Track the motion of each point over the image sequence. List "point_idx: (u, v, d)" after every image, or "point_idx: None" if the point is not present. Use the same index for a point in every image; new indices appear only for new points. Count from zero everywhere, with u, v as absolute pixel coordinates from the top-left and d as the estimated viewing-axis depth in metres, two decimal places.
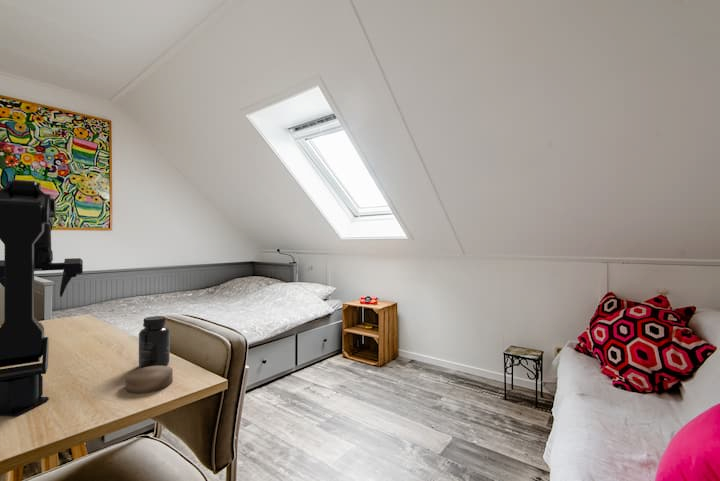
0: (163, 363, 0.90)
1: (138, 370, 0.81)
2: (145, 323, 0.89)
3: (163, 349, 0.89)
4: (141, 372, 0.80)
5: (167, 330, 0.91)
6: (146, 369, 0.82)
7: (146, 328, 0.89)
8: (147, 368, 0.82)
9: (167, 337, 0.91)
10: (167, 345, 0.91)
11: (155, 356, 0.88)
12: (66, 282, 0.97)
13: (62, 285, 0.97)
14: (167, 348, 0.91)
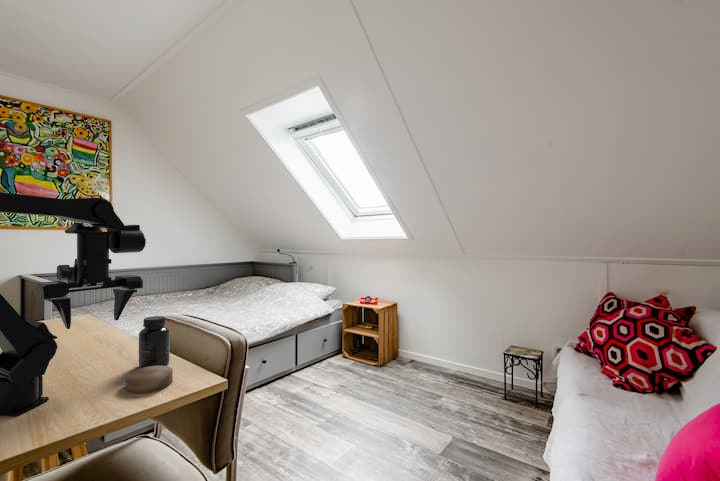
0: (163, 363, 0.90)
1: (138, 370, 0.81)
2: (145, 323, 0.89)
3: (163, 349, 0.89)
4: (141, 372, 0.80)
5: (167, 330, 0.91)
6: (146, 369, 0.82)
7: (146, 328, 0.89)
8: (147, 368, 0.82)
9: (167, 337, 0.91)
10: (167, 345, 0.91)
11: (155, 356, 0.88)
12: (127, 300, 0.84)
13: (122, 304, 0.83)
14: (167, 348, 0.91)
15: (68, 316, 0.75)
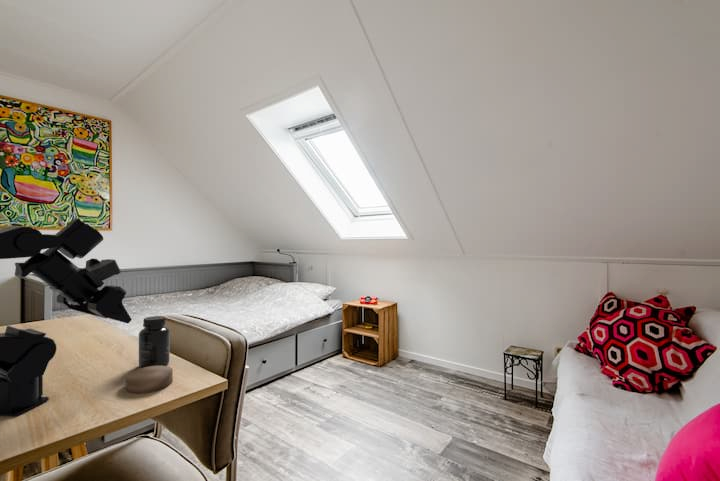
0: (163, 363, 0.90)
1: (138, 370, 0.81)
2: (145, 323, 0.89)
3: (163, 349, 0.89)
4: (141, 372, 0.80)
5: (167, 330, 0.91)
6: (146, 369, 0.82)
7: (146, 328, 0.89)
8: (147, 368, 0.82)
9: (167, 337, 0.91)
10: (167, 345, 0.91)
11: (155, 356, 0.88)
12: None
13: (110, 318, 0.78)
14: (167, 348, 0.91)
15: (92, 314, 0.83)
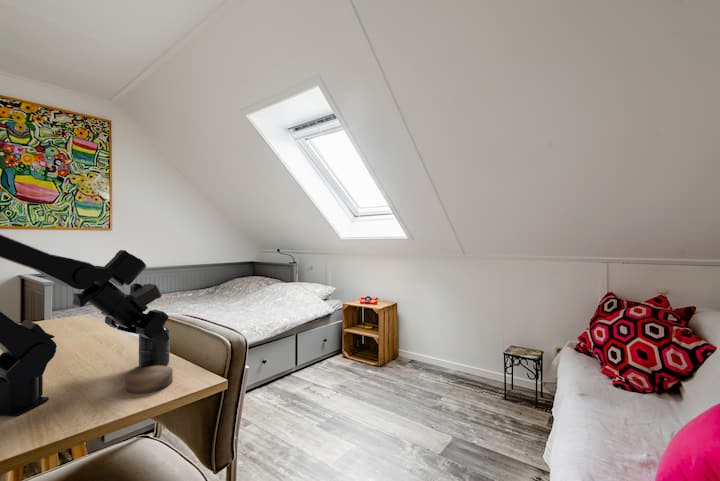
0: (163, 363, 0.90)
1: (138, 370, 0.81)
2: None
3: (163, 349, 0.89)
4: (141, 372, 0.80)
5: (167, 330, 0.91)
6: (146, 369, 0.82)
7: None
8: (147, 368, 0.82)
9: None
10: (167, 345, 0.91)
11: (155, 356, 0.88)
12: (150, 338, 0.85)
13: (152, 338, 0.86)
14: (167, 348, 0.91)
15: None
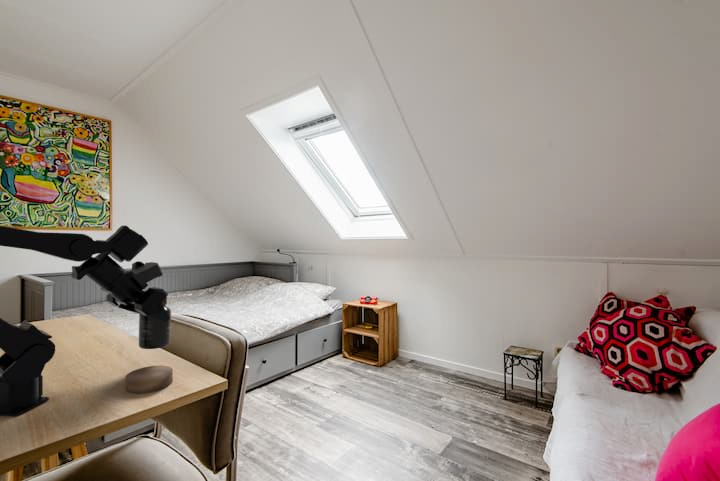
0: (163, 343, 0.87)
1: (138, 370, 0.81)
2: None
3: (163, 329, 0.87)
4: (141, 372, 0.80)
5: (168, 310, 0.89)
6: (146, 369, 0.82)
7: None
8: (147, 368, 0.82)
9: None
10: (168, 325, 0.89)
11: (155, 335, 0.86)
12: (149, 316, 0.83)
13: None
14: (167, 328, 0.89)
15: (139, 313, 0.90)
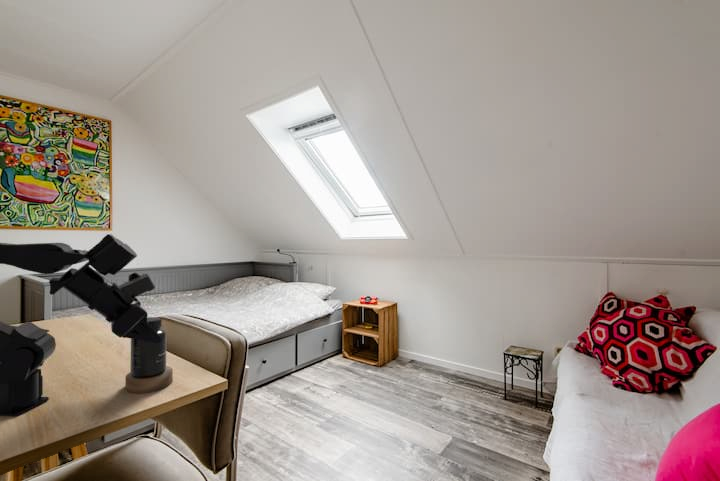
0: (153, 373, 0.77)
1: None
2: None
3: (152, 356, 0.77)
4: None
5: (160, 335, 0.79)
6: None
7: None
8: None
9: (159, 343, 0.78)
10: (159, 352, 0.78)
11: (143, 364, 0.76)
12: None
13: None
14: (159, 356, 0.78)
15: None
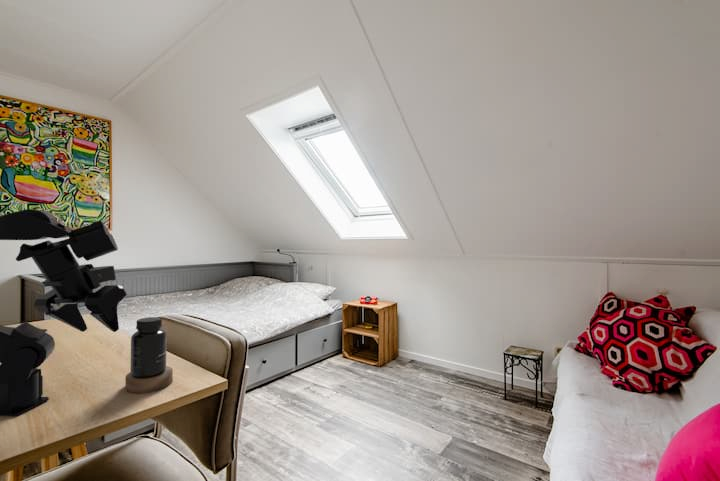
0: (153, 373, 0.77)
1: None
2: (137, 325, 0.78)
3: (152, 356, 0.77)
4: None
5: (160, 335, 0.79)
6: None
7: (138, 330, 0.78)
8: None
9: (159, 343, 0.78)
10: (159, 352, 0.78)
11: (143, 364, 0.76)
12: (100, 319, 0.73)
13: (101, 322, 0.74)
14: (159, 356, 0.78)
15: (69, 324, 0.77)
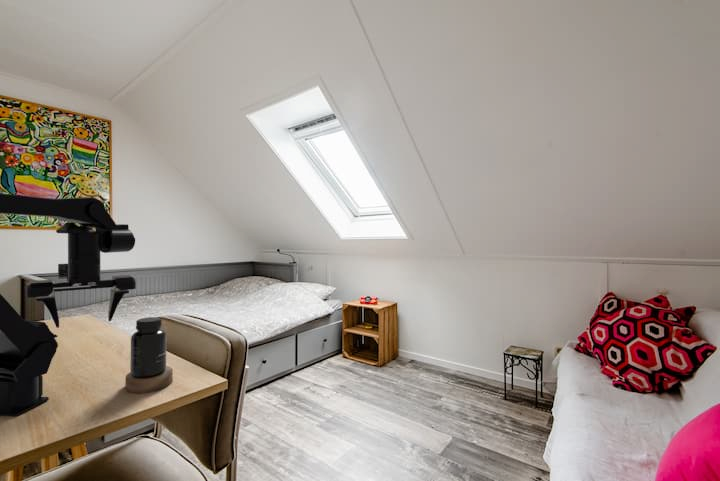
0: (153, 373, 0.77)
1: None
2: (136, 325, 0.78)
3: (152, 356, 0.77)
4: None
5: (160, 335, 0.79)
6: None
7: (137, 330, 0.78)
8: None
9: (159, 343, 0.78)
10: (159, 352, 0.78)
11: (143, 364, 0.76)
12: (118, 301, 0.82)
13: (113, 305, 0.82)
14: (159, 356, 0.78)
15: (55, 315, 0.76)
